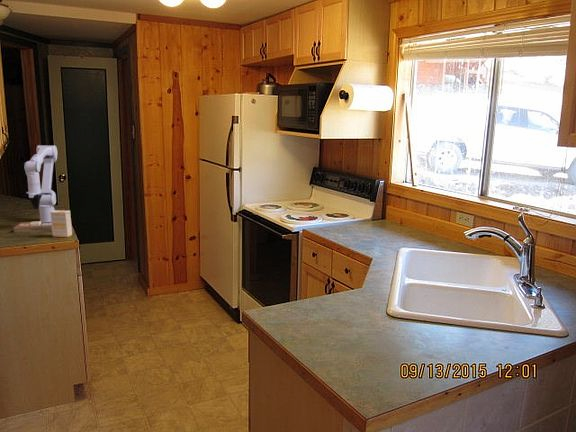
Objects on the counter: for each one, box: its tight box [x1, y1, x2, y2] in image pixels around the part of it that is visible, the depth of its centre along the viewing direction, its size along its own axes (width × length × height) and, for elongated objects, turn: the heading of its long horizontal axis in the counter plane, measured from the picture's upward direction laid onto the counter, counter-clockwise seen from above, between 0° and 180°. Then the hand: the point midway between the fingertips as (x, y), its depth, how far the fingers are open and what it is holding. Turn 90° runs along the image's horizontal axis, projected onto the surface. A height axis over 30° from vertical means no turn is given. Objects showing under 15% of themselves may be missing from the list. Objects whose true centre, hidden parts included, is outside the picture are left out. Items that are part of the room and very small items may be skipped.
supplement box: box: [50, 209, 73, 238], centre depth 247 cm, size 8×5×13 cm, turn 84°
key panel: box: [13, 221, 52, 234], centre depth 262 cm, size 13×18×2 cm
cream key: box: [30, 220, 41, 226], centre depth 261 cm, size 4×4×2 cm
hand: (36, 208), depth 263 cm, fingers closed
